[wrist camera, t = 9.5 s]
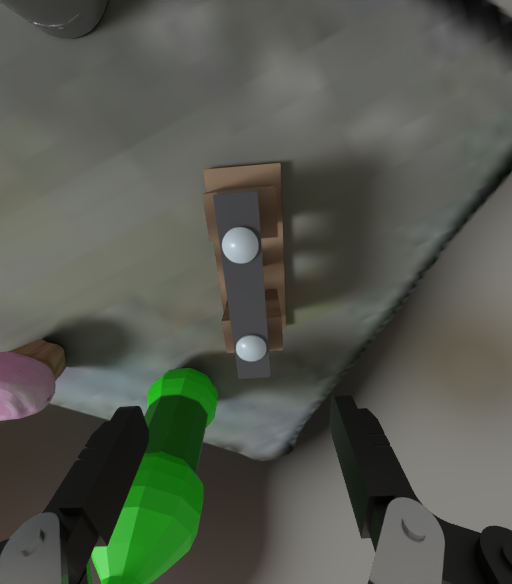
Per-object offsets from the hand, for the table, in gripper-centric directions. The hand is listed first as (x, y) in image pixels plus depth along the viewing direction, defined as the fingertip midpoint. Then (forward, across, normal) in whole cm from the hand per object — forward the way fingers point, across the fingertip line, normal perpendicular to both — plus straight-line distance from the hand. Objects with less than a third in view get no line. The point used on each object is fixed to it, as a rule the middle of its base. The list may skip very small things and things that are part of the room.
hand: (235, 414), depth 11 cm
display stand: (+23, 0, 0) cm, 23 cm away
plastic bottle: (+23, +11, +19) cm, 32 cm away
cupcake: (+23, +30, +12) cm, 40 cm away
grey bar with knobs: (+15, 0, 0) cm, 15 cm away
